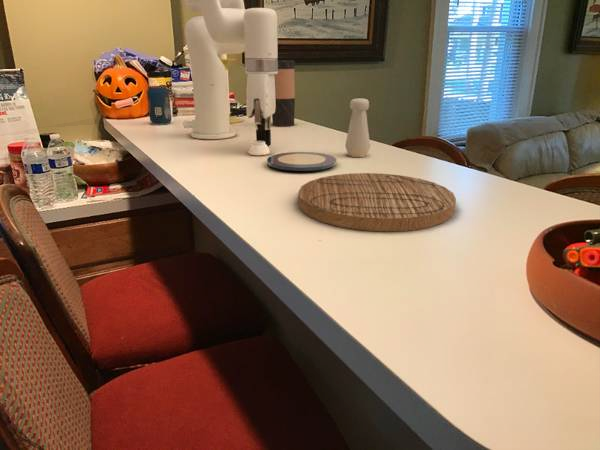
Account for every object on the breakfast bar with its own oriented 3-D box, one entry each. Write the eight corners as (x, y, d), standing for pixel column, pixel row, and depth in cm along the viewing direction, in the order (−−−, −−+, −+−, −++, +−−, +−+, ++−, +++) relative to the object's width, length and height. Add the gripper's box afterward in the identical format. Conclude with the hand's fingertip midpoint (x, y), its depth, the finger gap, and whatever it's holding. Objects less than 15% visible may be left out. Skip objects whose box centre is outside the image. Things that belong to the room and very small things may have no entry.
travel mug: (294, 126, 151) (294, 60, 144) (271, 126, 151) (269, 60, 144) (295, 123, 158) (294, 60, 151) (272, 123, 158) (271, 60, 151)
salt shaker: (368, 158, 108) (371, 100, 103) (343, 157, 109) (345, 99, 104) (370, 153, 113) (373, 97, 108) (346, 152, 114) (348, 97, 110)
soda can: (152, 122, 161) (148, 85, 156) (173, 121, 161) (169, 85, 157) (148, 125, 154) (144, 87, 150) (170, 124, 155) (166, 87, 151)
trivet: (300, 182, 89) (300, 172, 88) (433, 183, 88) (434, 173, 87) (295, 230, 65) (295, 217, 65) (476, 232, 65) (478, 219, 64)
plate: (258, 171, 97) (258, 165, 96) (276, 156, 110) (276, 150, 110) (331, 175, 94) (331, 168, 93) (340, 159, 107) (340, 153, 107)
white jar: (272, 152, 114) (253, 151, 115) (272, 140, 113) (253, 139, 114) (265, 157, 109) (245, 155, 111) (264, 144, 108) (244, 143, 110)
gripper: (254, 65, 116) (257, 139, 122) (235, 68, 102) (239, 151, 109) (284, 65, 115) (285, 140, 121) (269, 68, 101) (271, 153, 107)
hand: (263, 145), depth 115 cm, fingers closed
